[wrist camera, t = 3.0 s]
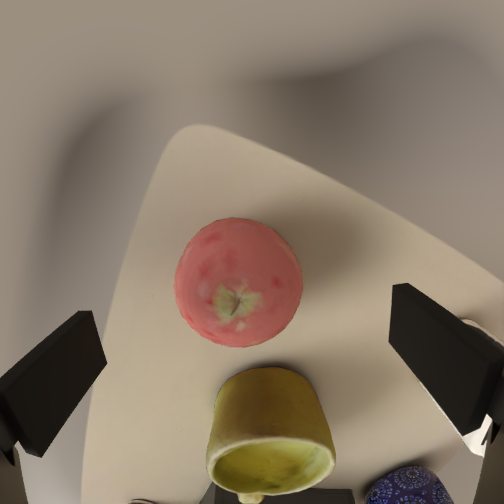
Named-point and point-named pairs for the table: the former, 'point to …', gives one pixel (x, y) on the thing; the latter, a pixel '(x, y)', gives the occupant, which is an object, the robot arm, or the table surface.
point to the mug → (268, 435)
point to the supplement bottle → (139, 502)
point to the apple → (238, 283)
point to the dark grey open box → (282, 497)
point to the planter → (408, 488)
